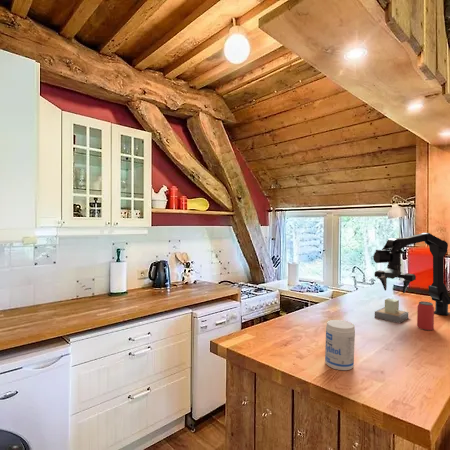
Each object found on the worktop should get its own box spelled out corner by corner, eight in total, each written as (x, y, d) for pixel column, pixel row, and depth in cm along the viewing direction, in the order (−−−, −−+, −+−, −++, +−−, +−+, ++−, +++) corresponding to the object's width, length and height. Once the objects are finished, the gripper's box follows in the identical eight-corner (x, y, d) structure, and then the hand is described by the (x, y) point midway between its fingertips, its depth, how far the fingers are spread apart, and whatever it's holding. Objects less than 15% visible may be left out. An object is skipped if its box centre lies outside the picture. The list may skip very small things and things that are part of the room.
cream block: (388, 309, 172) (388, 298, 172) (398, 311, 168) (398, 300, 168) (384, 311, 169) (384, 299, 168) (394, 313, 165) (395, 301, 165)
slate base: (384, 312, 177) (384, 307, 177) (408, 318, 168) (408, 311, 168) (374, 317, 169) (374, 311, 169) (399, 323, 160) (399, 316, 160)
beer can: (436, 331, 149) (436, 305, 148) (420, 330, 150) (420, 304, 150) (430, 326, 155) (430, 301, 155) (414, 325, 156) (415, 300, 156)
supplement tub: (320, 365, 114) (321, 324, 114) (331, 356, 121) (331, 317, 121) (348, 374, 108) (349, 330, 107) (358, 364, 115) (358, 323, 115)
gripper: (370, 262, 173) (370, 291, 174) (408, 265, 160) (408, 297, 160) (378, 260, 181) (378, 288, 181) (416, 263, 167) (416, 293, 168)
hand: (394, 291), depth 172 cm, fingers open, 9 cm apart
